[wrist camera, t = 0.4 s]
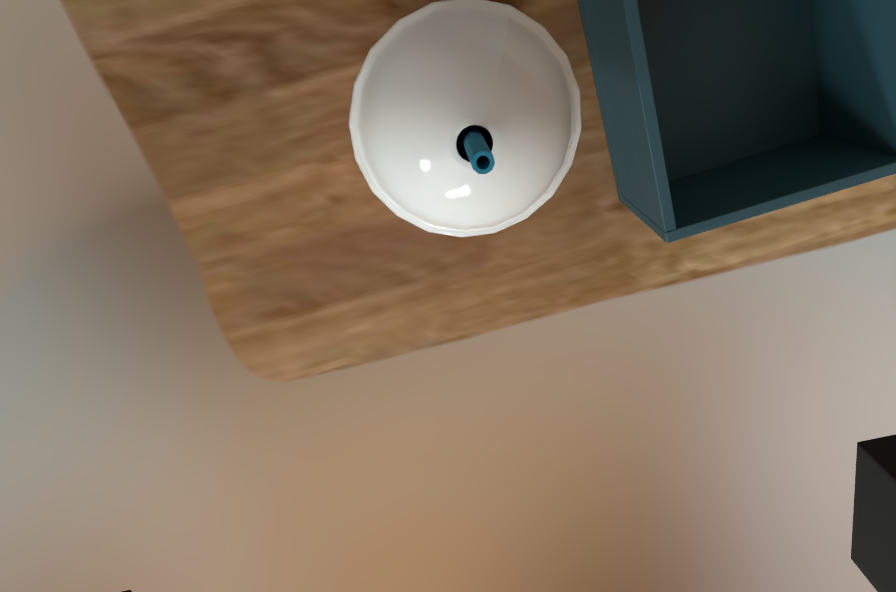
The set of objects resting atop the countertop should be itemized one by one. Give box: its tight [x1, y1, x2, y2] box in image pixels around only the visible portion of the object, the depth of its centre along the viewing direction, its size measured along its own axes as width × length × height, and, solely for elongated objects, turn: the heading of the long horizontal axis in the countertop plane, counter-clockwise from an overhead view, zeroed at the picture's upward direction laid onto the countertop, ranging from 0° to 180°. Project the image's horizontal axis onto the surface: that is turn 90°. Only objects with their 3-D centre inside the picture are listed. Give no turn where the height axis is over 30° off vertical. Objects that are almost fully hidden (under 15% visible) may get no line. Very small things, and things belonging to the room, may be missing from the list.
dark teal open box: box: [578, 0, 896, 243], centre depth 32 cm, size 12×12×8 cm
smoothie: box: [348, 0, 582, 237], centre depth 26 cm, size 8×8×20 cm
